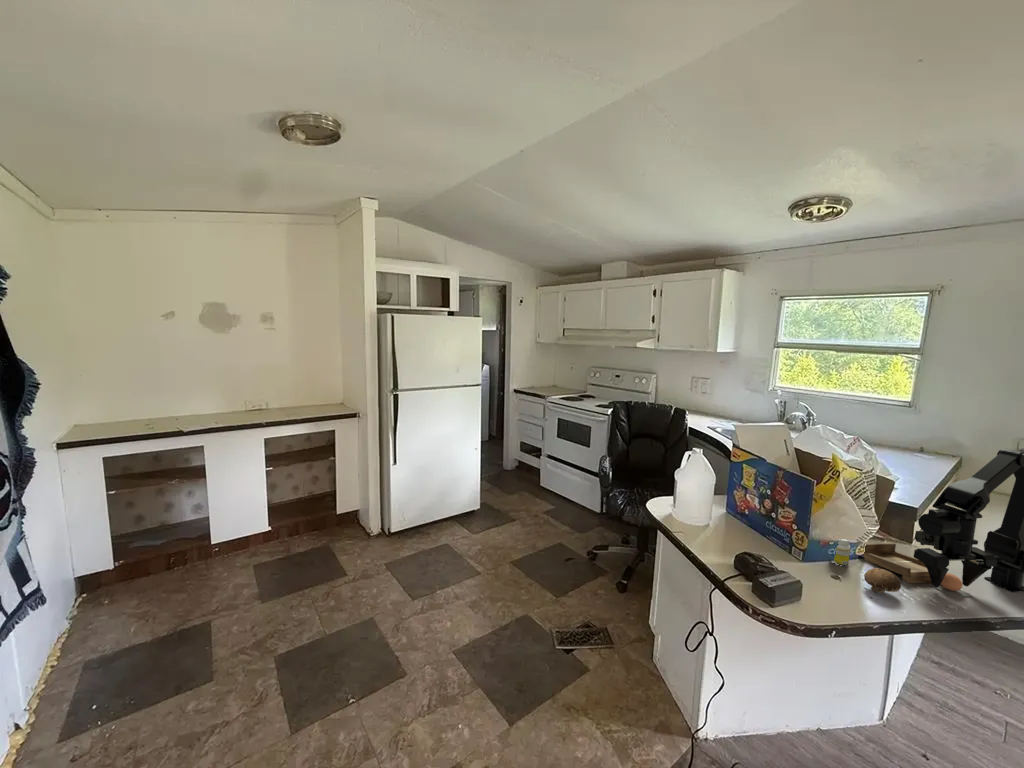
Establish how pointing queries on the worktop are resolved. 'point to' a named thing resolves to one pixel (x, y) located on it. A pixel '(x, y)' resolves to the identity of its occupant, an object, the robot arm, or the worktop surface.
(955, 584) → the ball
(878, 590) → the mushroom
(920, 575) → the tray
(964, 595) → the coaster
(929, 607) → the worktop surface
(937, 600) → the worktop surface
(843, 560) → the supplement bottle
